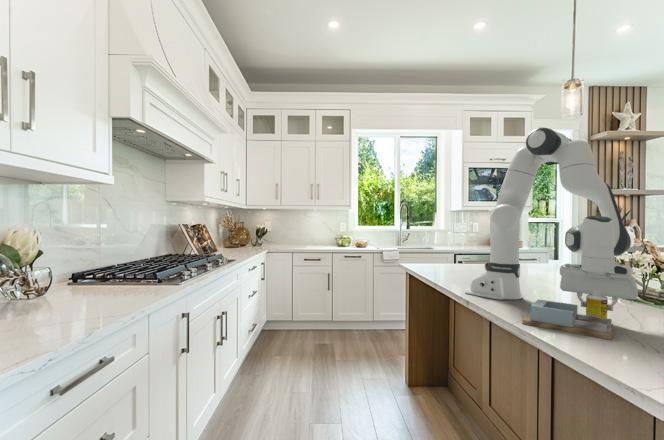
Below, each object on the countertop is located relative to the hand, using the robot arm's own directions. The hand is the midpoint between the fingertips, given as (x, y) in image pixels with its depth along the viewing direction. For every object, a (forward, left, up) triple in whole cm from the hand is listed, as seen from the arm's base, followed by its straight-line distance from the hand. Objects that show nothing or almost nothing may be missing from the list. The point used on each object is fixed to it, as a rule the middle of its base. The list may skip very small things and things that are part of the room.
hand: (596, 308), depth 117 cm
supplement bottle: (0, 0, -4) cm, 4 cm away
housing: (-10, -13, -3) cm, 17 cm away
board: (-6, -13, -4) cm, 15 cm away
